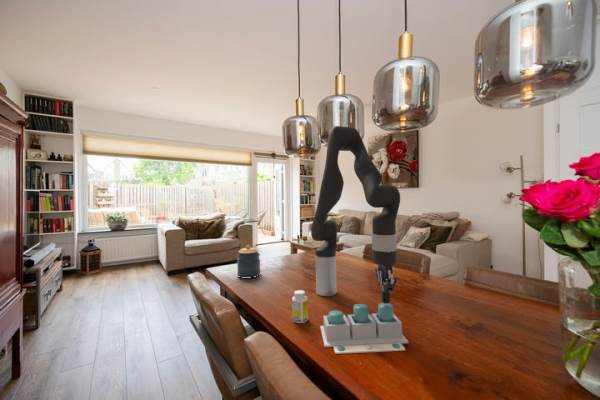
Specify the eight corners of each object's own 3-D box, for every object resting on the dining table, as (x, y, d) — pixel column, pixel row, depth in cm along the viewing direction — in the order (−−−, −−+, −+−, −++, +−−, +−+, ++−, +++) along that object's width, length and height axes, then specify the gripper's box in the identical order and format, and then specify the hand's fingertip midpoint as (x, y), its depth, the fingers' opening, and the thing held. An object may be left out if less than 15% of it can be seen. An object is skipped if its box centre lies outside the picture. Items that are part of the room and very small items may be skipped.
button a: (328, 329, 88) (327, 310, 88) (342, 328, 88) (341, 310, 88) (330, 336, 83) (329, 317, 83) (345, 335, 83) (344, 316, 83)
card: (333, 347, 79) (333, 345, 79) (400, 344, 80) (400, 342, 80) (335, 353, 76) (335, 351, 76) (405, 350, 77) (405, 348, 77)
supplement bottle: (307, 316, 100) (306, 288, 100) (309, 323, 95) (308, 294, 95) (292, 317, 100) (291, 289, 100) (293, 324, 94) (292, 295, 94)
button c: (376, 321, 88) (376, 303, 88) (390, 320, 89) (390, 302, 88) (381, 328, 84) (381, 308, 84) (396, 327, 84) (395, 308, 84)
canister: (233, 278, 150) (232, 246, 150) (244, 271, 162) (243, 242, 162) (254, 279, 146) (253, 247, 146) (264, 273, 158) (263, 243, 158)
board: (320, 327, 91) (319, 312, 91) (393, 324, 92) (392, 309, 92) (324, 347, 79) (324, 330, 79) (408, 343, 80) (408, 326, 80)
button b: (352, 322, 88) (351, 304, 88) (366, 321, 88) (365, 303, 88) (355, 329, 84) (355, 310, 83) (370, 328, 84) (370, 309, 84)
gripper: (366, 245, 92) (368, 295, 92) (379, 252, 79) (381, 311, 79) (388, 244, 93) (389, 294, 93) (404, 251, 79) (406, 310, 80)
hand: (385, 302), depth 86 cm, fingers closed
